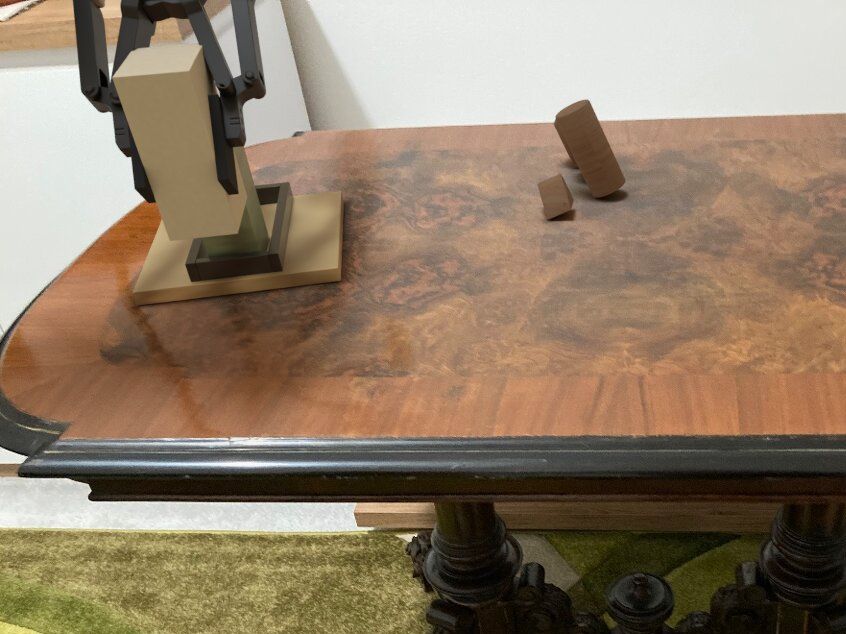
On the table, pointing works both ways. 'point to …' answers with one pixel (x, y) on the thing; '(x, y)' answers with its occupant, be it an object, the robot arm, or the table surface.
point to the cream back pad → (178, 139)
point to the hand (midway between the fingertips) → (188, 190)
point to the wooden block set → (581, 158)
